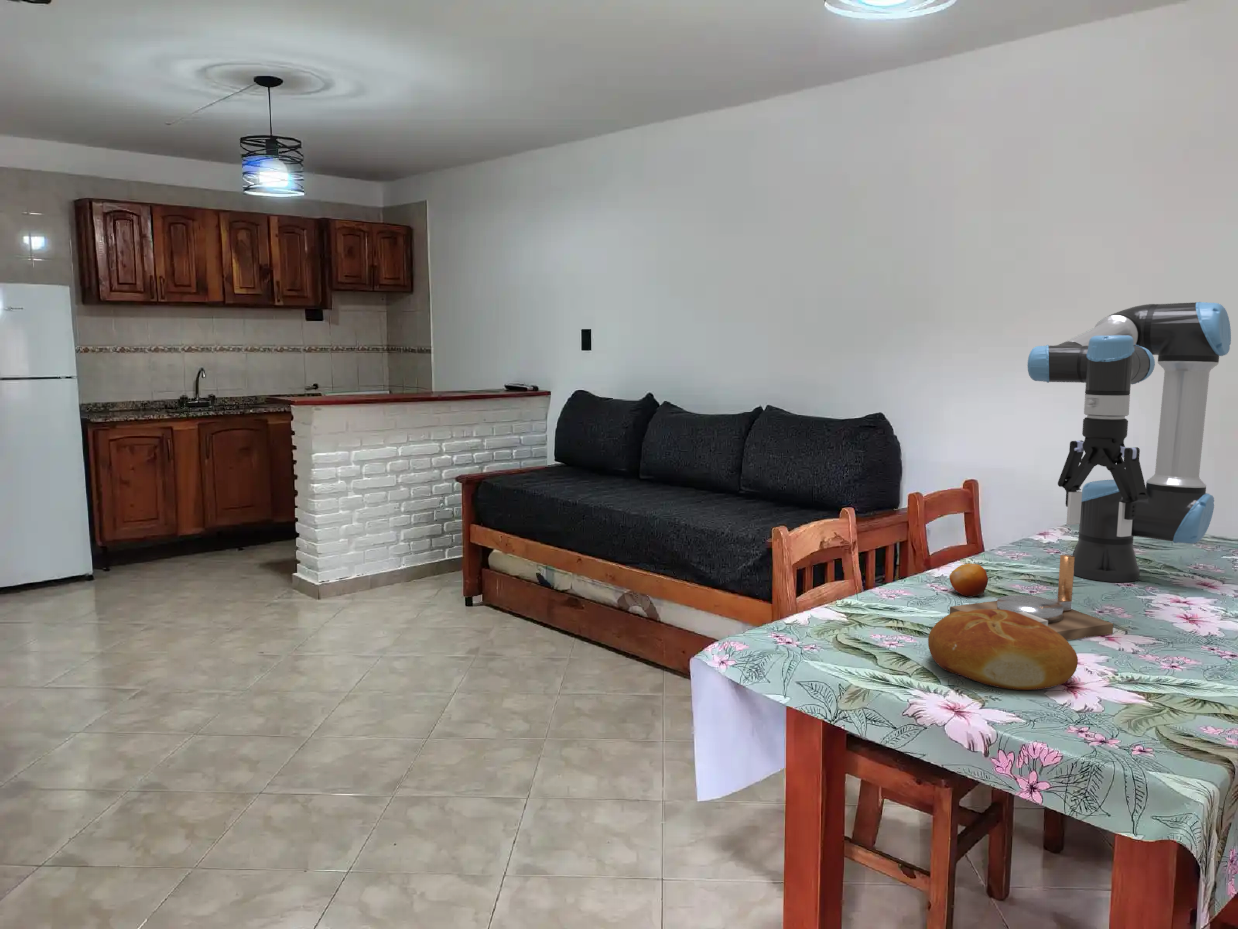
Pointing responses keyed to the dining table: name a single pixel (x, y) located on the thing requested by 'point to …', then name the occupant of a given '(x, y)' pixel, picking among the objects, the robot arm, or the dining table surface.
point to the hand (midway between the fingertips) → (1097, 530)
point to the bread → (1002, 649)
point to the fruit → (969, 579)
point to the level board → (1067, 627)
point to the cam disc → (1042, 606)
